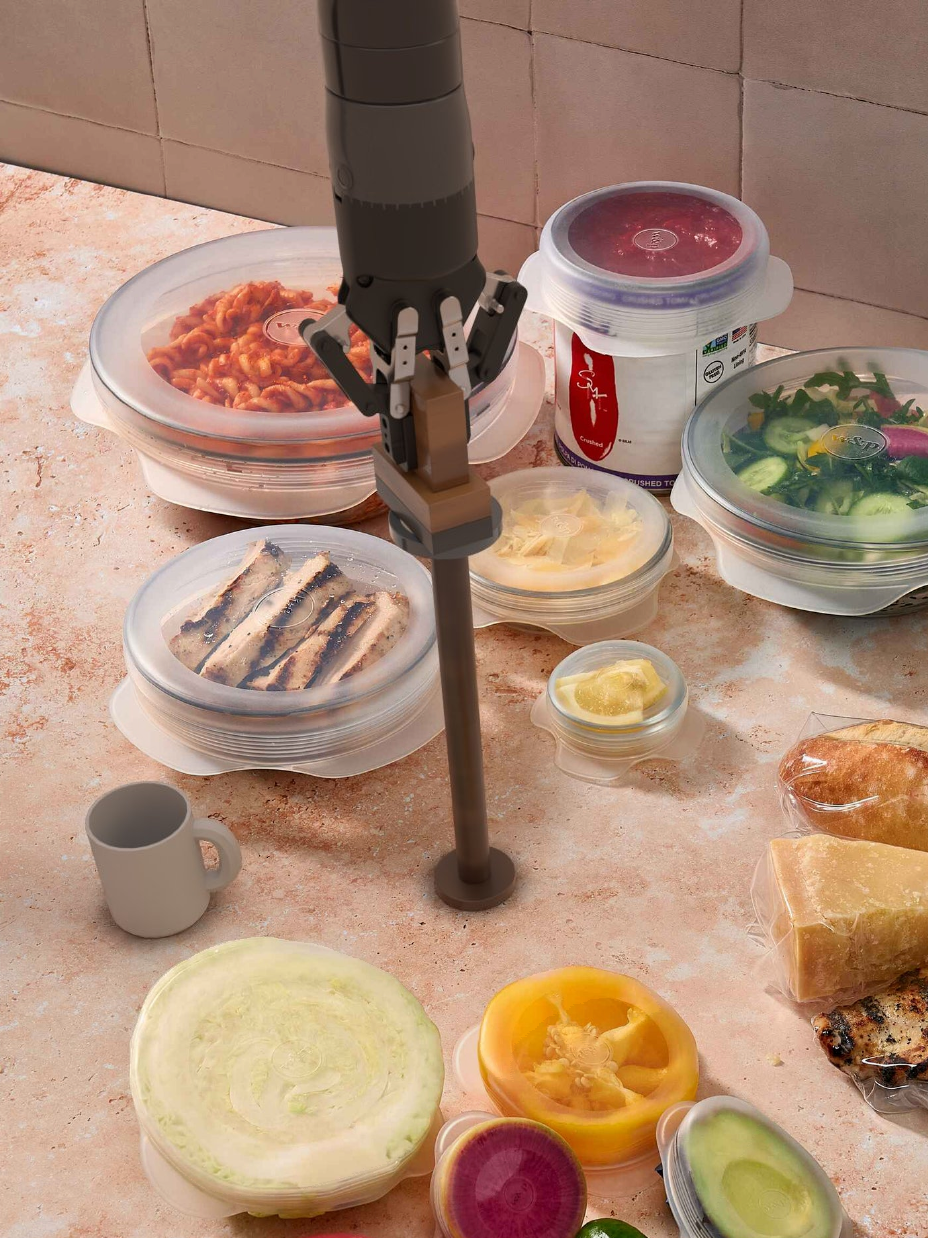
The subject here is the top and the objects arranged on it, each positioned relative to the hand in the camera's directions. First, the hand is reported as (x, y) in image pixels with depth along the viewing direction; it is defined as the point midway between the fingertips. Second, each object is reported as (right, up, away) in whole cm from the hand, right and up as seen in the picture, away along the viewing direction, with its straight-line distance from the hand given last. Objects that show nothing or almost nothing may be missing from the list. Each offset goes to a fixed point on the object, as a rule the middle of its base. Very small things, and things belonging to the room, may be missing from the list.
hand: (428, 456), depth 99 cm
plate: (+1, -4, +4) cm, 5 cm away
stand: (0, -26, +25) cm, 36 cm away
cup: (-21, -28, +23) cm, 42 cm away
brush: (0, -3, +3) cm, 4 cm away
